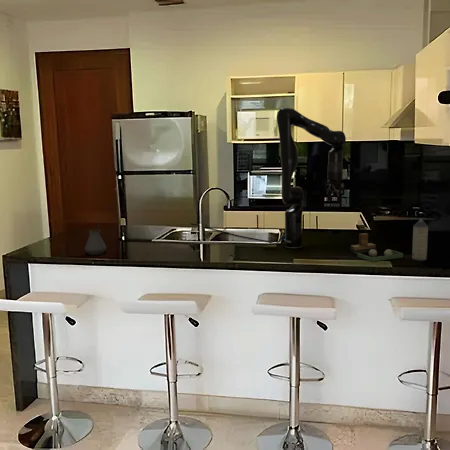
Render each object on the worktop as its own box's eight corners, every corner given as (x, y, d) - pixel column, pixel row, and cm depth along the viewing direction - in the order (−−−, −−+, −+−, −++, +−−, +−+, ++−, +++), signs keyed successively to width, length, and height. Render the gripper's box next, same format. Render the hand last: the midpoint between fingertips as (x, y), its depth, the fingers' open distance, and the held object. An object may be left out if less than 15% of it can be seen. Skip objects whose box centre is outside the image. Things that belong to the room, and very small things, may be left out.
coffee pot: (104, 255, 285) (102, 227, 282) (82, 256, 285) (80, 228, 282) (111, 246, 306) (110, 221, 303) (91, 247, 306) (89, 221, 303)
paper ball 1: (372, 256, 265) (368, 258, 268) (379, 255, 266) (374, 257, 270) (370, 248, 266) (366, 250, 269) (377, 247, 267) (372, 249, 271)
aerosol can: (423, 257, 265) (424, 217, 262) (429, 260, 258) (431, 219, 255) (409, 257, 265) (411, 218, 261) (415, 261, 258) (417, 220, 255)
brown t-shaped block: (349, 251, 280) (350, 234, 278) (370, 249, 285) (370, 231, 283) (355, 253, 276) (356, 235, 274) (376, 251, 280) (376, 233, 279)
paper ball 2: (382, 256, 268) (382, 249, 267) (388, 255, 269) (389, 248, 268) (387, 258, 264) (387, 251, 263) (393, 258, 266) (394, 250, 265)
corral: (356, 256, 269) (357, 252, 269) (388, 252, 276) (388, 248, 276) (371, 261, 259) (371, 257, 259) (403, 257, 266) (403, 253, 266)
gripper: (349, 171, 267) (348, 203, 270) (333, 169, 280) (332, 199, 283) (337, 172, 264) (336, 204, 267) (321, 169, 277) (320, 200, 280)
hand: (334, 202), depth 275 cm, fingers open, 8 cm apart
